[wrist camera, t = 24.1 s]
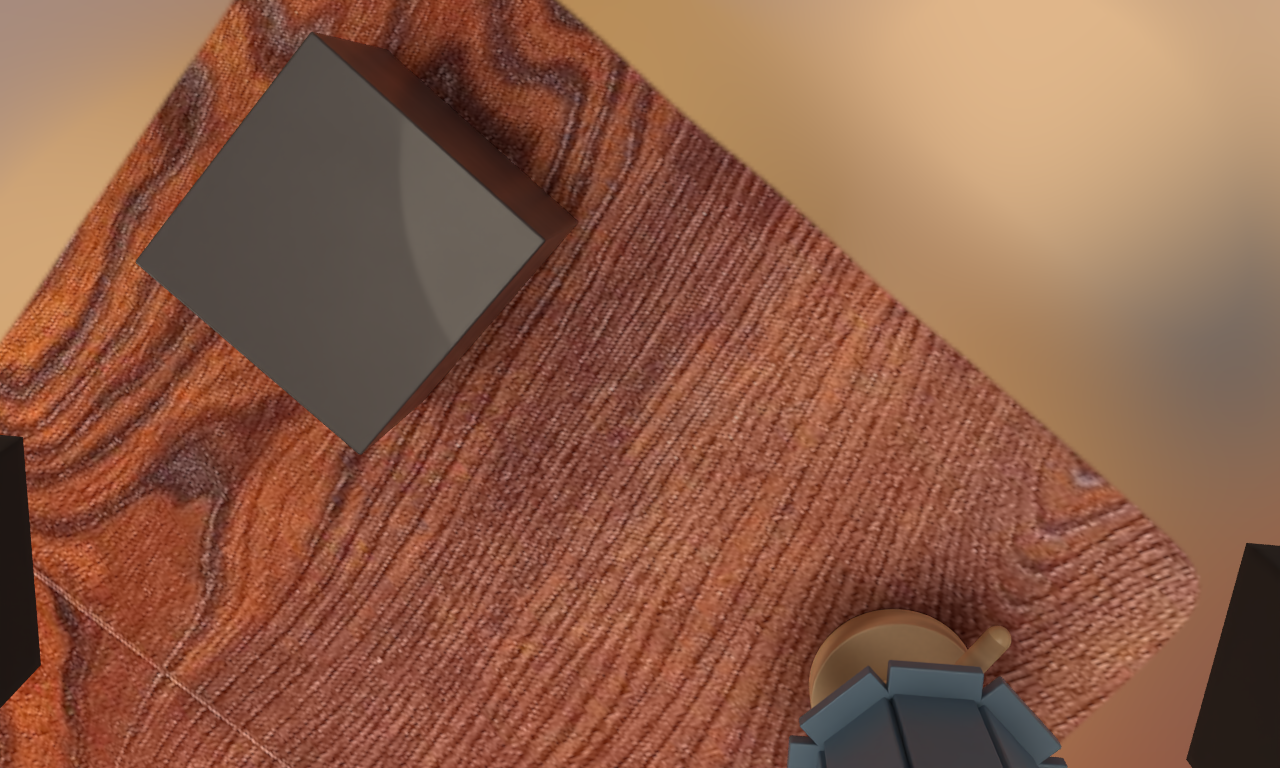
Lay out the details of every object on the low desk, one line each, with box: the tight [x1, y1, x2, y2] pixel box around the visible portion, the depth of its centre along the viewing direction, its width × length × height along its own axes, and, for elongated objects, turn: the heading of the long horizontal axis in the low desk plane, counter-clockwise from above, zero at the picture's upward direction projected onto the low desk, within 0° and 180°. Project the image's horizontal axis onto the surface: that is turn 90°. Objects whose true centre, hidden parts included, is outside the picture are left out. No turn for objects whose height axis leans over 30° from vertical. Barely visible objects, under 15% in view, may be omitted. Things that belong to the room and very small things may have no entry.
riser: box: [136, 32, 578, 455], centre depth 42 cm, size 10×10×8 cm
